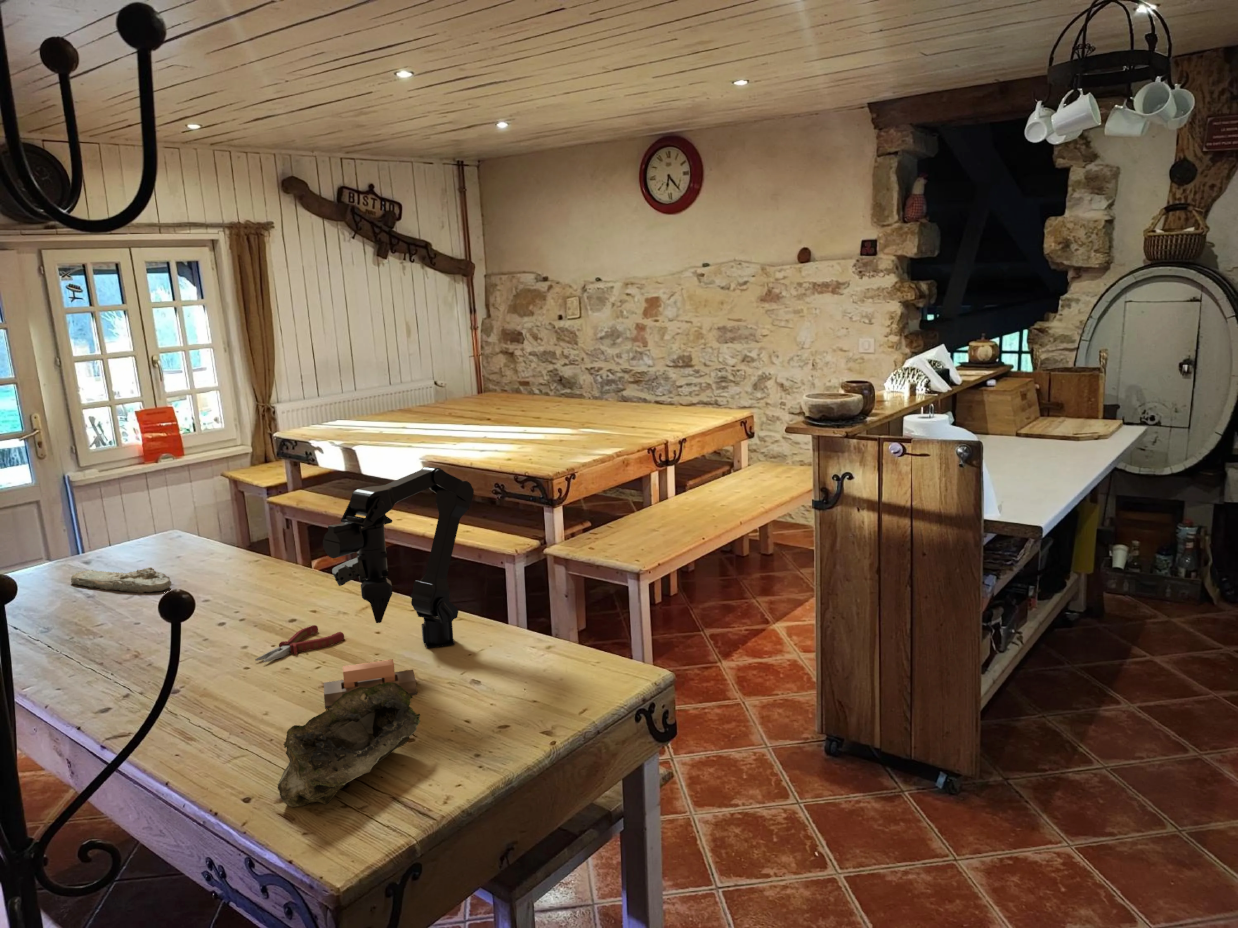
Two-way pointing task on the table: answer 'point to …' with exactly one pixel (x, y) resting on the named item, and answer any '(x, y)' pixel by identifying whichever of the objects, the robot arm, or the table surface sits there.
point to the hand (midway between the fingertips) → (377, 615)
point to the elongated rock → (123, 580)
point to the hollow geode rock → (345, 742)
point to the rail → (336, 688)
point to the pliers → (301, 644)
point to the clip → (368, 672)
